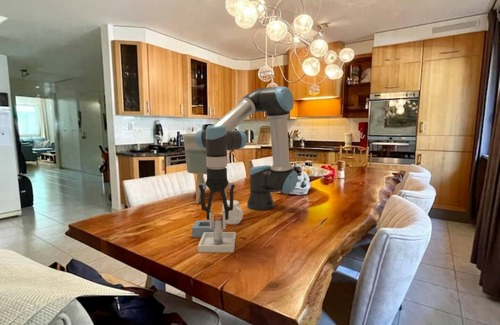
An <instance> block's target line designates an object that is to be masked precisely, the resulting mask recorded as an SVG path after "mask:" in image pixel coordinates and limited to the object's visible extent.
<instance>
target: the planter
mask: <svg viewBox="0 0 500 325" xmlns="http://www.w3.org/2000/svg"><path fill="white" fill-rule="evenodd" d="M195 135H196V133H185V134H183V143H184V154H185V164H186V171H187V172H186V173H189V174H192V175H196V187H195V188H196V189H195V204H199V203H200V202H201V191H200V188H199V185H200V184H203V179H204V178H203V177H204V175H207V168H208V167H207V165H206V148H202V147H199V146H198V145H197V144H196V142H195ZM225 168H227V166H226V167H225ZM224 191H225V196H226V199H227V198H229V196H228V191H227V187H226V188H225V189H224Z"/></svg>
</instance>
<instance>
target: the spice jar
mask: <svg viewBox="0 0 500 325" xmlns="http://www.w3.org/2000/svg"><path fill="white" fill-rule="evenodd" d="M222 214H223V213H214V214H212V217H213V228H214V244H215V245H221V244H223V232H224V229H223V215H222Z"/></svg>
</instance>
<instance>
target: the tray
mask: <svg viewBox="0 0 500 325" xmlns="http://www.w3.org/2000/svg"><path fill="white" fill-rule="evenodd" d="M236 239H237V232H236V231H223V244H221V245H215V244H214V232H204V233H203V236H202V237H200V241H199V242H198V245H197V253H235V248H236V247H235V246H236Z"/></svg>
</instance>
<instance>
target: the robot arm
mask: <svg viewBox="0 0 500 325" xmlns="http://www.w3.org/2000/svg"><path fill="white" fill-rule="evenodd" d="M294 104H295V100H294V95H293V92H292V91H291V89H290V88H288V87H287V86H271V87H261V88H257V89H254V90H253V91H250V92H249V93H248V94H246V95H244V96H243V97H242V98H240V99H239V101H238V104H236V105H235V106H234V107H233V108H232V109H230V111H227V113H225V114H224V115H223V116H222V117H221V118H219V119H218V120H217V121H216V122H215V123H213V124H212V125H208V126H206V128H205V129H202V130H198V131H197V132H196V133H195V134H196V135H195V142H196V144H197V145H198V146H199V147H202V148H206V165H207V167H208V168H207V174H206V180H205V182H204V183H203V182H202V184H200V185H199V188H200V191H201V194H200V204H201V206H200V207H201V210H202V211H205V212H206V220H210V229H212V227H213V210H211V209H212V208H211V207H212V204H213V198H214V194H215V193H219V194H220V197H221V201H222V204H223V205H224V209H225V210H224V211H223V212H222V214H223V230H226V227H227V224H226V220H228V218H229V211H230V210H233V200H234V189H235V186H236V184H235V183H231V182H229V180H228V168H227V166H228V155H227V154H228V151H234V150H240V149H243V148H245V146H246V145H247V142H248V136H247V134H246V133H245V132H244V131H243V130H236V128H237V127H238V126H239V125H240V124H241V123H242V122H243V121H245V120H246V119H247V118H248V117H250V116H251V117H252V116H253V115H254V114H255V113H260V112H261V113H263V112H264V113H265V116H266V117H267V118H268V119H269V126H270V128H269V130H270V140H271V153H272V154H271V155H272V156H271V157H272V165H269V164H268V165H265V164H264V165H258V166H253V167H251V168H250V170H249V171H250V173H249V180H250V181H249V182H250V183H249V186H250V187H249V188H250V193H249V196H248V199H247V201H246V206H247V208H248V209H249V210H254V211H268V210H271V209H273V208H274V207H275V202H274V200H273V196H272V191H273V192H274V191H275V192H281V193H292V192H293V191H294V190H295V188H296V186H297V184H298V177H299V174H298V172H297V171H296V170H294V166H293V165H292V164H291V163H290V161H291V160H290V150H289V149H290V147H289V132H288V130H289V129H288V117H289V116H290V115H291V114H290V112H291V111H292V110H293V109H294ZM225 167H226V168H225ZM206 188H208V190H209V196H208V201H207V203H206ZM225 188H226V189H227V188H228V189H229V200H230V207H228V204H227V200H228V199H227V198H226V196H225V191H224V189H225ZM206 204H207V206H206Z"/></svg>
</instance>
